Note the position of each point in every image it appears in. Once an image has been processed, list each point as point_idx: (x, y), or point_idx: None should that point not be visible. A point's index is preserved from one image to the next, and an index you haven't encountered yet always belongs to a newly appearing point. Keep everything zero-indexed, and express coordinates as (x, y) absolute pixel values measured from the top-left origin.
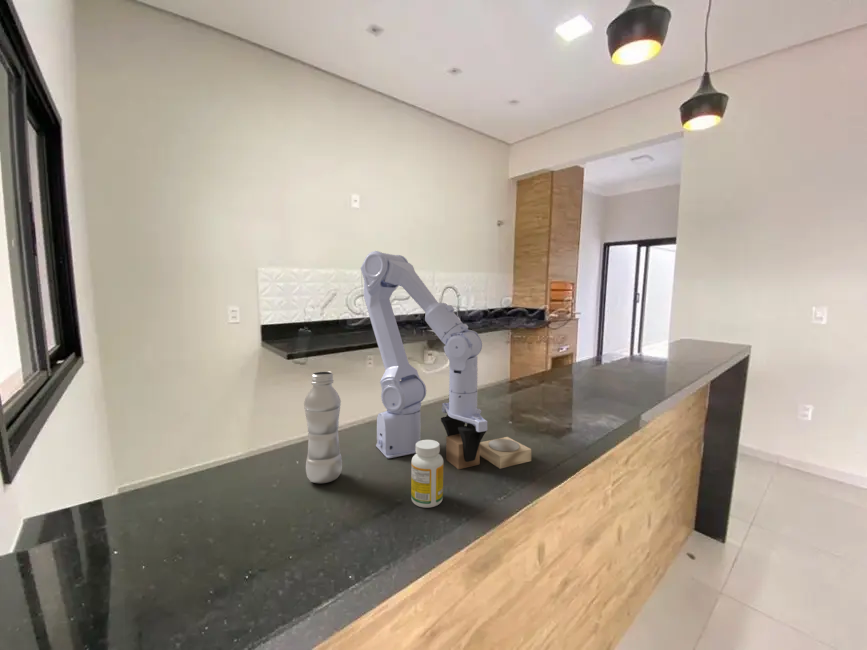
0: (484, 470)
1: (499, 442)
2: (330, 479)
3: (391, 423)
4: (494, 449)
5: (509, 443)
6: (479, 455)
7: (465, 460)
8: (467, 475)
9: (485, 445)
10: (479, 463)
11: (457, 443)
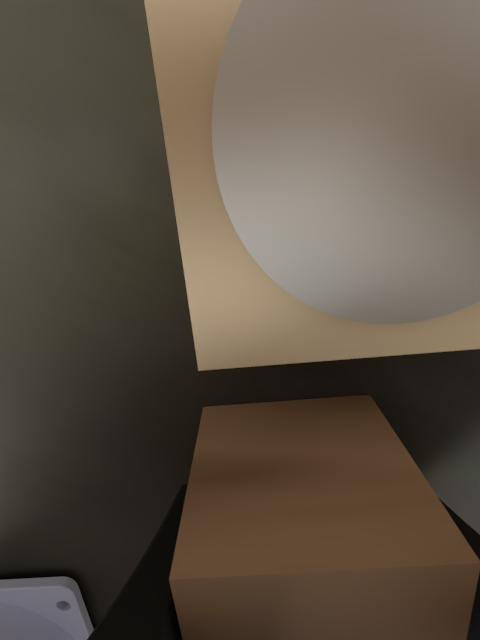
0: (459, 406)
1: (329, 152)
2: None
3: None
4: (445, 311)
5: (425, 20)
6: (394, 435)
7: None
8: (454, 509)
9: (296, 335)
10: (371, 397)
11: None
